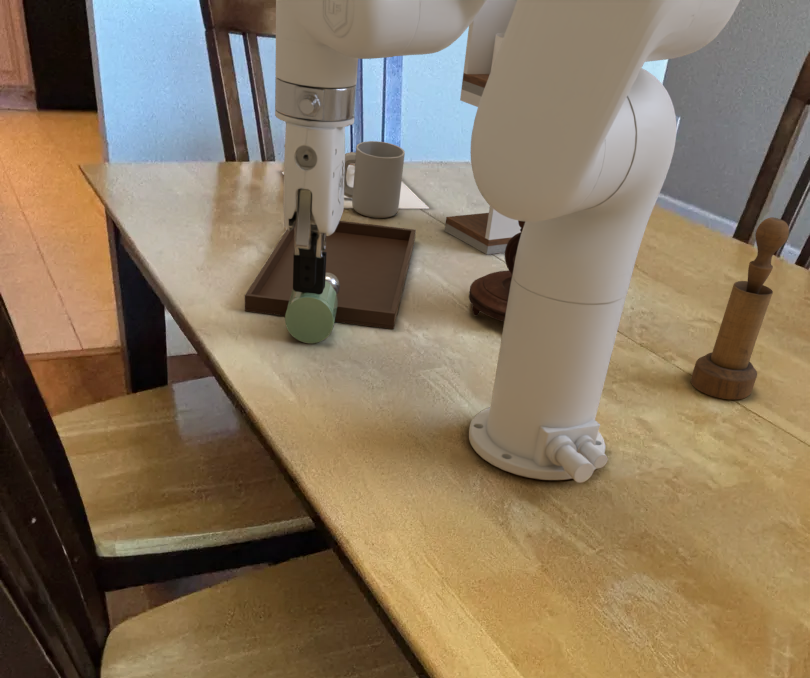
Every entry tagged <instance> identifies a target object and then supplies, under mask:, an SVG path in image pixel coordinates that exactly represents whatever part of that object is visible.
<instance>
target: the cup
mask: <svg viewBox="0 0 810 678" xmlns="http://www.w3.org/2000/svg"><path fill="white" fill-rule="evenodd" d="M405 154H406V151H405V150H404V148H402V147H401V146H399V145H396V144H393V143H390V142H386V141H378V140H366V141H362V142H360V143H357V145H356V147H355V152H354V151H350V152H345V173H344V195H345V196H346V197H349V198H352V206H353V208H352V209H353V210H354V211H355V212H356V213H358V214H359V215H362V216H365V217H368V218H373V219H374V218H375V219H386V218H391V217H393V216H395V215H396V214H397V212H398V211H399V208H398V207H399V200H400V191H401V182H403V181H402V180H403V173H404V165H405ZM352 164H354V166H355V171H354V184H353V188H352V187H349V186H348V184H347V180H346V173H347V168H348V166H349V165H352Z"/></svg>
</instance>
